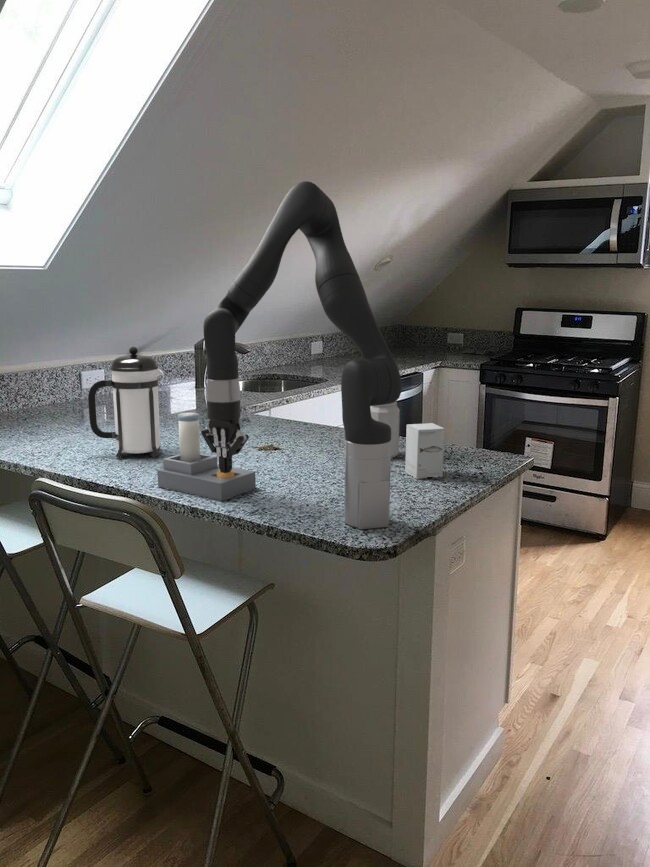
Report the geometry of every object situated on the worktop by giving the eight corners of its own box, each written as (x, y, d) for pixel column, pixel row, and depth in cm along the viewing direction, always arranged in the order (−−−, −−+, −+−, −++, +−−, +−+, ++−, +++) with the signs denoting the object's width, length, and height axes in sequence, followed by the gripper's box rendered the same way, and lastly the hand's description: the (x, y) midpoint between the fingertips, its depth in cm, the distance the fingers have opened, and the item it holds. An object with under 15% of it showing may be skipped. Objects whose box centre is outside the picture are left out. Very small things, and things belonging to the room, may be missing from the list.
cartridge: (202, 469, 175) (200, 415, 172) (181, 471, 174) (178, 417, 171) (199, 464, 180) (198, 412, 177) (179, 465, 178) (177, 413, 175)
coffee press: (142, 444, 217) (136, 342, 211) (177, 453, 207) (172, 346, 201) (90, 456, 204) (83, 347, 197) (125, 465, 194) (118, 351, 188)
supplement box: (416, 479, 181) (417, 429, 179) (404, 472, 188) (405, 423, 185) (443, 477, 183) (445, 427, 181) (431, 470, 190) (432, 422, 187)
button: (238, 487, 172) (237, 471, 171) (226, 492, 169) (226, 475, 168) (225, 485, 174) (224, 468, 173) (213, 489, 171) (212, 472, 170)
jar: (401, 453, 208) (403, 389, 204) (395, 461, 199) (396, 395, 195) (367, 450, 210) (368, 388, 206) (359, 459, 201) (360, 393, 197)
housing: (255, 488, 174) (255, 461, 173) (221, 500, 164) (220, 472, 163) (193, 475, 185) (192, 449, 184) (158, 486, 175) (156, 460, 174)
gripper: (256, 398, 166) (258, 472, 170) (212, 393, 173) (215, 464, 177) (234, 403, 160) (236, 480, 164) (190, 397, 167) (193, 471, 171)
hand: (225, 471), depth 171 cm, fingers closed
